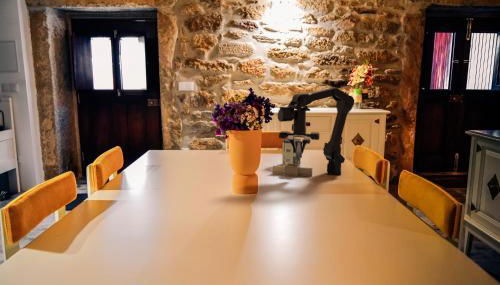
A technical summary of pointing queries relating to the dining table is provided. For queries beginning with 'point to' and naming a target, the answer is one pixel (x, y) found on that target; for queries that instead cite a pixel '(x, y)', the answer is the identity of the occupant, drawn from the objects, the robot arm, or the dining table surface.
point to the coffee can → (289, 153)
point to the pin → (298, 149)
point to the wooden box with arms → (292, 170)
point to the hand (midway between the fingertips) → (298, 153)
